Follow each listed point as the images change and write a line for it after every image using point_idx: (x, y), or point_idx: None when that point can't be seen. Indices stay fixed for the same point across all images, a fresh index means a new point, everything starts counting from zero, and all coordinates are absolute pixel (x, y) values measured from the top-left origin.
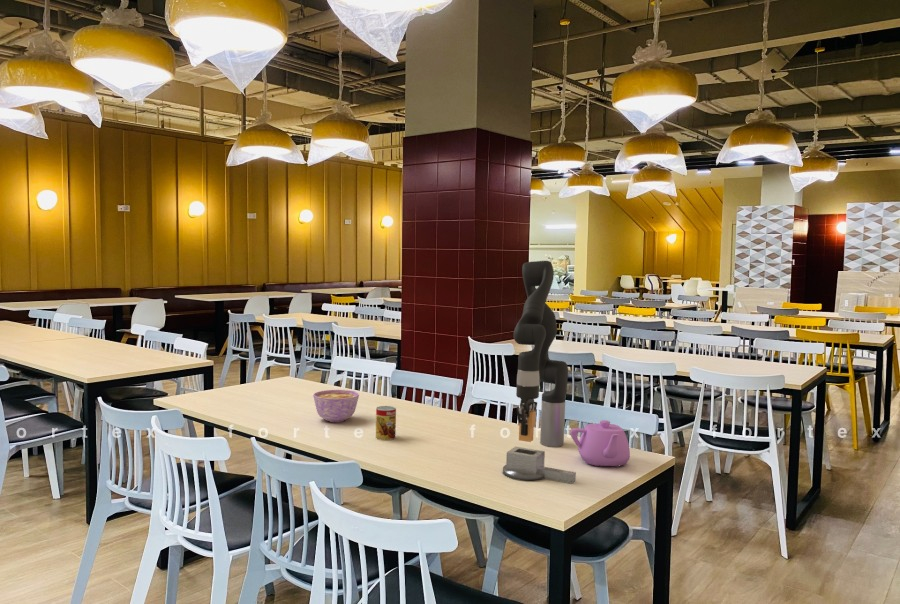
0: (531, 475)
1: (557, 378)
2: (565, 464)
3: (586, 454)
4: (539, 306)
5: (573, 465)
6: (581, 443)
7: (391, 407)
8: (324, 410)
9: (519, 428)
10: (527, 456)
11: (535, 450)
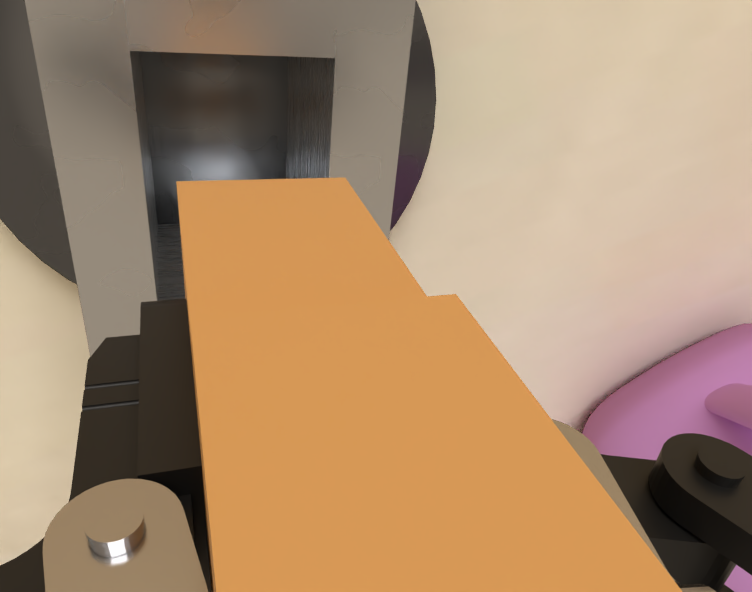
0: (69, 248)
1: None
2: (581, 290)
3: (620, 449)
4: None
5: (574, 335)
6: (744, 426)
7: None
8: None
9: (190, 311)
10: (76, 280)
11: None
